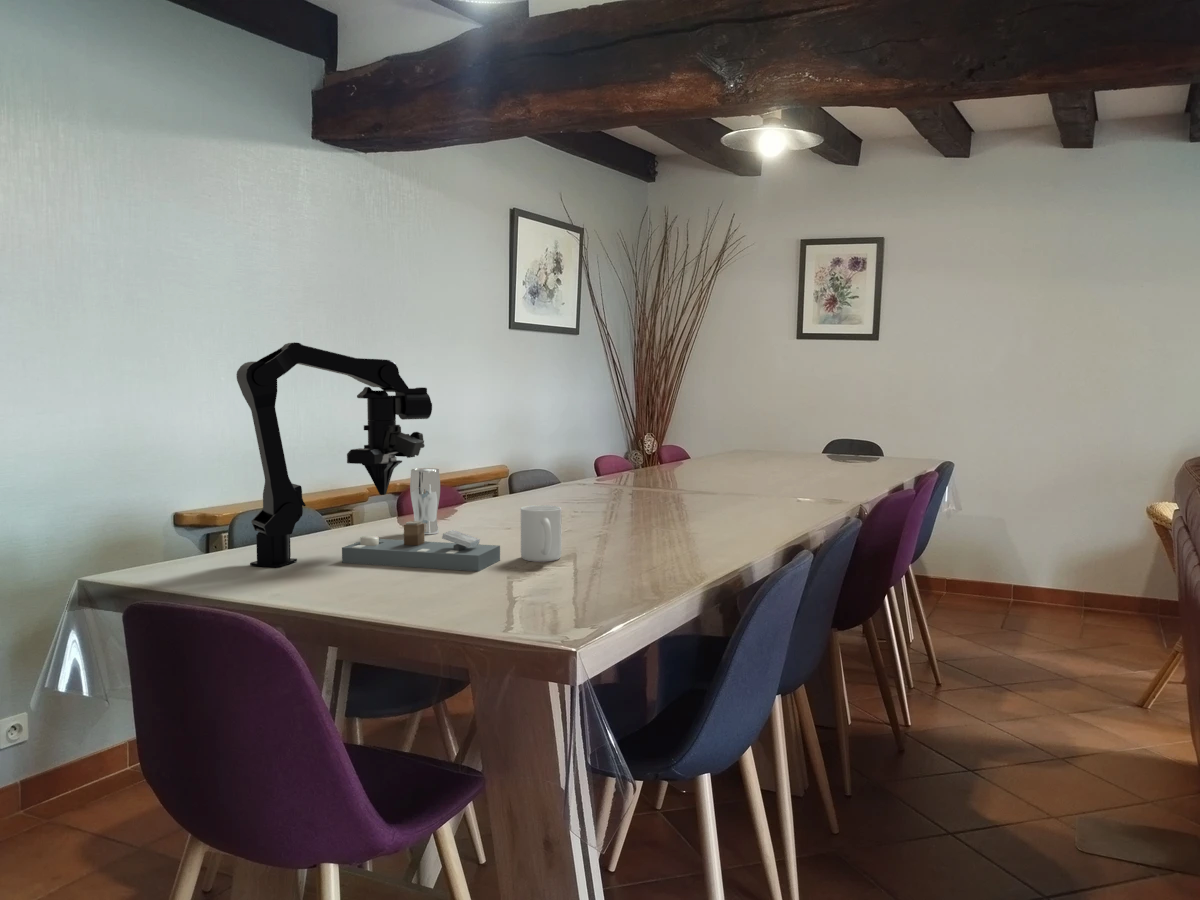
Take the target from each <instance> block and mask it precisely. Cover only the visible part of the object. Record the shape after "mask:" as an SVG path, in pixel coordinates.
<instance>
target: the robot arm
mask: <svg viewBox="0 0 1200 900" xmlns="http://www.w3.org/2000/svg"><path fill="white" fill-rule="evenodd" d="M296 365H301V366H305V367H309V368H314V369H319V370H323V371H328V372H331V373H335V374H339V375H345V376H348V377H350V378H352V379H354V380H356V381H358V382H359V383H361V384H364V385H367V386H365V387H363V389H362V391H360V392H359V393H358V394H357V395H356V398H357V399H366V400H367V403H366V404H367V406H366V407H367V409H366V410H367V411H366V412H367V424H365V425H363V431H367V444H364V445H363V448H353V449H350V450H349V451H348V452H347V453H346V463H347V464H353V465H354V464H357V465H358V464H359V465H361V466H363V467H364V468H365V470H366V471H367V473H368V475H369V476H370V478H371V480H372V482H373V483H374V486H375V488H376V490H377V492H378V494H379V495H380V496H385V495H387V491H388V488H389V485H390V482H391V479H392V474H393V473H394V469H395V468H396V467H398V466H399V465H400V464H402V463H403V460H397V457H402V458H403V457H406V458H407V459H409V458H415V457H417V456H419V455H420V452H421V450H422V449H423V448H425V440H424V434H423V432H422V433H421V432H419V431H413V432H412V433H411V434H409V433H404V432H402V426H401V425H400V424H397V419H396V418H397V416H398V418H400V419H401V420H428V419H429V418H430V417H431V416H432V412H433V402H432V401H431V397H430V395H429V393H428V388H427V387H424V386H423V387H422V386H421V387H415V388H413V387H412V388H411V387H410V388H409V386H408V384H406V382H405V381H404V379H403V377H402V376H401V375H400V370H399V367H398V365H397V363H396V362H395V361H392V360H390V359H381V358H379V359H378V358H363V357H362V358H359V357H358V358H357V357H353V356H349V355H344V354H341V353H338V352H334V351H333V352H332V351H329V350H323V349H320V348H315V347H312V346H309V345H304V344H302V343H300V342H288V343H285V344H283V346H281V347H280V348H278V349H277V350H274V351H273V352H270V354H267V355H265V356H263V357H262V358H259V360H257V361H247V362H244V363H243V364H241V366H240V367H239V368H238V369H237V371H236V381H237V384H238V386H239V389H240V391H241V394H242V396H243V398H244V400H245V402H246V403H247V405H248V407H249V409H250V412H251V416H252V421H253V426H254V432H255V436H256V442H257V445H258V451H259V456H260V461H261V465H262V471H263V476H264V486H263V492H262V509H261V510H260V511H259V513H257V514H256V515H255V517H254V518H253V519H252V520H251V526H252V527H253V529H254V531H255V532H257V533H256V534H255V535H256V536H255V542H256V560H255V561H251V562H250V563H249V565H250V566H255V567H256V566H257V567H269V568H270V567H272V568H280V567H283V566H286V565H290V564H292V563H295V562H297V561H298V558H291V556H292V555H291V537H290V535H292V534H293V532H294V529H295V525H296V523H298V522H299V521H300V519H301V518H302V517H303V513H304V509H303V508H304V507H307V505H306V503H305V501H304V499H303V488H302V487H303V486H301V485H299V484H296V483H293V482H292V481H291V480H290V477H289V474H288V473H289V472H288V469H287V468H288V467H287V463H286V457H285V452H284V447H283V442H282V437H281V436H282V435H281V432H280V427H279V422H278V416H277V411H276V402H277V396H278V379H279V378H280V377H282V376H284V375H286V374H287V373H288V372H289V371H290V370H291V369H293V368H294V367H295V366H296ZM371 387H372V388H379V389H380V390H373V389H372V388H371ZM388 393H395V394H394V395H389V394H388Z"/></svg>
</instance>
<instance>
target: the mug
mask: <svg viewBox="0 0 1200 900" xmlns="http://www.w3.org/2000/svg"><path fill="white" fill-rule="evenodd" d="M562 511H563V510H562V507H561V506H558V505H557V506H556V505H549V504H548V505H547V504H546V505H545V504H541V505H539V504H536V505H525V506H521V507H520V557H521V558H522V559H523V560H524V561H528V562H537V563H539V562H540V563H541V562H542V563H543V562H544V563H545V562H553V561H558V560H560V558H561V556H562V541H563V540H562V535H563V534H562V529H563V527H562V513H563V512H562Z"/></svg>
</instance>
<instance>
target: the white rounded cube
mask: <svg viewBox="0 0 1200 900" xmlns="http://www.w3.org/2000/svg"><path fill="white" fill-rule="evenodd" d="M359 539H360V541H359V542H360V545H366V546H376V545H378V544H379V539H380V538H379V536H377V535H365V536H361V537H360V538H359Z"/></svg>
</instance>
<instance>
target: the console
mask: <svg viewBox="0 0 1200 900" xmlns="http://www.w3.org/2000/svg"><path fill="white" fill-rule="evenodd" d="M500 561H501V545H496V544H480V543H479V544H477V545H475V546H473V547H470V548H468V547H465V546H463V545H460V544H457V543H454V542H442V541H425V540H424V543H423V544H420V545H404V539H392V538H391V539H388V538H379V544H378V545H376V546H366V545H360V541H358V542H355V543H352V544H348V545H346V546H343V547H341V563H343V564H357V565H359V564H360V565H376V566H377V565H378V566H390V567H402V568H403V567H405V568H406V567H407V568H419V569H420V568H424V569H434V570H437V569H439V570H452V571H454V570H455V571H465V572H466V571H467V572H470V571H471V572H480V571H482V570H485V569H486V568H488V567H490V566H492V565H494V564H495V563H498V562H500Z"/></svg>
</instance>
